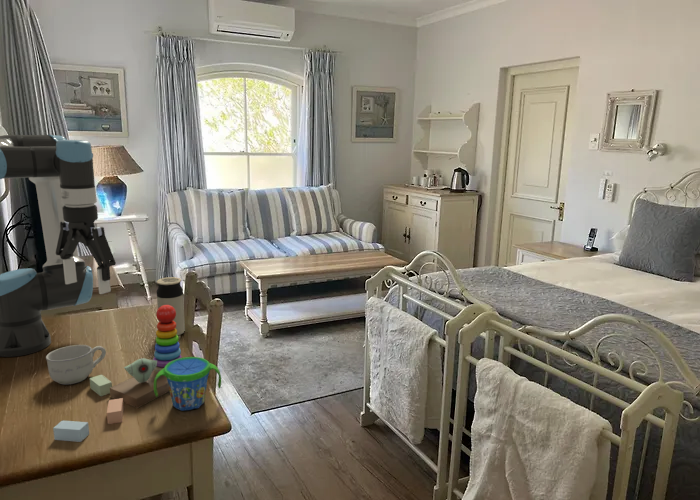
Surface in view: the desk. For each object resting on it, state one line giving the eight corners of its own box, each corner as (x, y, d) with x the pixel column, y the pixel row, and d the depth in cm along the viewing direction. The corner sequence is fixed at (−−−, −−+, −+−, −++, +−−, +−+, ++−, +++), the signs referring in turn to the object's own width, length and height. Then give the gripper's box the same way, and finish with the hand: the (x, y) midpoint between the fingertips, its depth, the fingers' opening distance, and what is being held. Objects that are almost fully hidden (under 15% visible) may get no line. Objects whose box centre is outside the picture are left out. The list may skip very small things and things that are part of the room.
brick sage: (90, 389, 131) (89, 378, 131) (102, 384, 134) (101, 374, 133) (100, 397, 128) (99, 386, 127) (112, 392, 130) (111, 382, 129)
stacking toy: (173, 377, 138) (169, 311, 134) (147, 374, 140) (142, 309, 135) (188, 364, 146) (184, 302, 141) (163, 361, 147) (158, 300, 143)
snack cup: (222, 390, 132) (220, 353, 129) (222, 411, 122) (220, 372, 119) (158, 396, 128) (155, 358, 126) (152, 419, 118) (149, 378, 116)
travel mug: (175, 326, 174) (172, 275, 170) (190, 331, 169) (187, 279, 165) (154, 333, 167) (150, 280, 163) (169, 339, 163) (165, 285, 159)
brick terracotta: (110, 411, 121) (108, 400, 121) (123, 409, 122) (122, 398, 122) (107, 424, 116) (106, 413, 115) (122, 422, 117) (121, 410, 116)
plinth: (110, 397, 127) (109, 387, 127) (150, 377, 137) (149, 369, 137) (137, 408, 122) (136, 398, 122) (176, 387, 133) (175, 378, 132)
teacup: (48, 392, 129) (44, 363, 127) (50, 374, 138) (46, 347, 136) (108, 381, 135) (106, 353, 133) (106, 364, 145) (104, 338, 143)
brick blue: (54, 440, 110) (53, 428, 109) (63, 432, 113) (62, 420, 112) (81, 442, 109) (79, 430, 108) (89, 434, 112) (88, 422, 111)
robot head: (157, 376, 133) (156, 352, 132) (161, 382, 130) (159, 358, 128) (124, 383, 129) (122, 358, 127) (127, 390, 126) (125, 365, 124)
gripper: (34, 201, 127) (43, 282, 132) (98, 212, 115) (106, 301, 120) (63, 198, 133) (71, 275, 138) (127, 208, 122) (133, 292, 127)
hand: (87, 287), depth 129 cm, fingers open, 13 cm apart
